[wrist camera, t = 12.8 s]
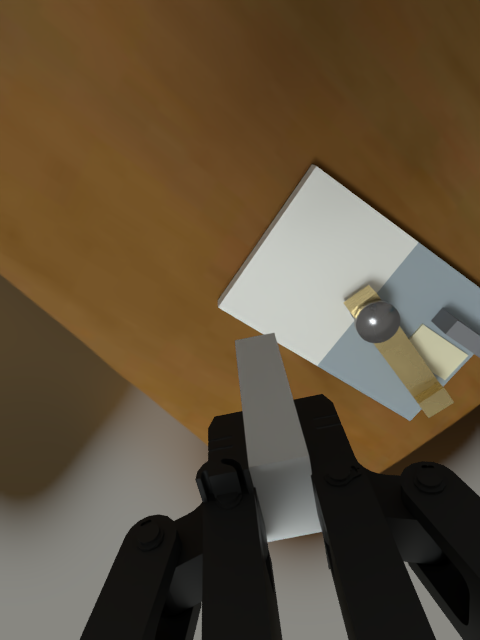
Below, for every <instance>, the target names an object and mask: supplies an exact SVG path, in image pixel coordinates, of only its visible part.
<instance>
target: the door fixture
mask: <svg viewBox="0 0 480 640" xmlns="http://www.w3.org/2000/svg"><path fill="white" fill-rule="evenodd" d="M367 285H369V286H370V287H371V288H372V289H373V290H374V291H375V292H376V293H377V294H378V296H379V297H380V299H381V300H385V301H387V302H389V303H391V304H392V305H393V306H394V307H395V308H396V309H397V311H398V312H399V314H400V327H401V329H402V330H403V332H404V333H405V334H406V336H407V337H408V339H409V340H410V342H411V343H412V344H413V346H414V347H415V349H416V350H417V352H418V353H419V354H420V356H421V357H422V359H423V360H424V362H425V363H426V364H427V366H428V367H429V369H430V370H431V372H432V373H433V374H434V376H435V377H436V379H437V380H438V382H439V383H440V384H441V385H442V386H444V385H445V384H446V383H447V382H448V381H449V380H450V379H451V378H452V376H453V375H454V374H455V373H456V372H457V371H458V370H459V369H460V368H461V367H462V366H463V365H464V364H465V363H466V362H467V361H468V360H469V359H470V358H471V356H472V355H473V354H475V355H477V356H478V357H480V288H479V287H478V286H477V285H475V284H474V283H473V282H471V281H470V280H469V279H467V278H466V277H465V276H463V275H462V274H461V273H459V272H458V271H456V270H455V269H454V268H452V267H451V266H450V265H448V264H447V263H446V262H444V261H443V260H442V259H440V258H439V257H438V256H436V255H435V254H434V253H432V252H431V251H430V250H428V249H427V248H426V247H424V246H423V245H422V244H420V243H419V242H418V241H416V240H415V239H414V238H412V237H411V236H410V235H408V234H407V233H406V232H404V231H403V230H401V229H400V228H399V227H397V226H396V225H395V224H393V223H392V222H391V221H389V220H388V219H387V218H385V217H384V216H383V215H381V214H380V213H379V212H377V211H376V210H375V209H373V208H372V207H371V206H369V205H368V204H367V203H365V202H364V201H363V200H361V199H360V198H359V197H357V196H356V195H355V194H353V193H352V192H351V191H349V190H348V189H347V188H345V187H344V186H342V185H341V184H340V183H338V182H337V181H336V180H334V179H333V178H332V177H330V176H329V175H328V174H326V173H325V172H324V171H322V170H321V169H320V168H318V167H317V166H315V165H313V164H312V165H311V167H310V168H309V169H308V171H307V172H306V174H305V175H304V177H303V178H302V180H301V181H300V182H299V184H298V185H297V187H296V188H295V190H294V191H293V193H292V194H291V195H290V197H289V198H288V200H287V201H286V203H285V204H284V206H283V207H282V208H281V210H280V211H279V213H278V214H277V216H276V217H275V219H274V220H273V221H272V223H271V224H270V226H269V227H268V229H267V230H266V232H265V233H264V234H263V236H262V237H261V239H260V240H259V242H258V243H257V245H256V246H255V247H254V249H253V250H252V252H251V253H250V255H249V256H248V258H247V259H246V260H245V262H244V263H243V265H242V266H241V268H240V269H239V271H238V272H237V273H236V275H235V276H234V278H233V279H232V281H231V282H230V284H229V285H228V286H227V288H226V289H225V291H224V292H223V294H222V295H221V297H220V298H219V299H218V308H220V309H222V310H223V311H225V312H227V313H229V314H230V315H232V316H234V317H235V318H237V319H239V320H240V321H242V322H244V323H245V324H247V325H249V326H251V327H252V328H254V329H256V330H257V331H259V332H261V333H262V334H264V335H265V334H270V333H275V337H276V341H277V342H278V343H279V344H281V345H283V346H284V347H286V348H288V349H289V350H291V351H293V352H295V353H296V354H298V355H300V356H301V357H303V358H305V359H306V360H308V361H310V362H311V363H313V364H315V365H317V366H318V367H320V368H322V369H323V370H325V371H327V372H328V373H330V374H332V375H333V376H335V377H337V378H339V379H340V380H342V381H344V382H345V383H347V384H349V385H350V386H352V387H354V388H355V389H357V390H359V391H361V392H362V393H364V394H366V395H367V396H369V397H371V398H372V399H374V400H376V401H377V402H379V403H381V404H383V405H384V406H386V407H388V408H389V409H391V410H393V411H394V412H396V413H398V414H399V415H401V416H403V417H405V418H406V419H408V420H410V421H411V420H412V419H413V417H414V416H415V415H416V414H417V413H418V412H419V411H420V410H421V409H422V408H421V407H420V406H419V404H418V403H417V402H416V400H415V399H414V398H413V396H412V395H411V393H410V392H409V391H408V389H407V388H406V387H405V385H404V384H403V383H402V381H401V380H400V379H399V377H398V376H397V375H396V373H395V372H394V371H393V369H392V368H391V367H390V365H389V364H388V363H387V361H386V360H385V358H384V357H383V356H382V354H381V353H380V352H379V350H378V349H377V348H376V346H375V345H374V344H373V343H370V342H367V341H365V340H363V339H362V338H361V337H360V335H359V334H358V332H357V331H356V329H355V326H354V319H355V318H354V317H353V315H352V314H351V313H350V311H349V310H348V309H347V307H346V306H345V305H344V303H343V302H345V301H346V300H348V299H349V298H351V297H352V296H353V295H355V294H356V293H358V292H359V291H360V290H362V289H363V288H365V287H366V286H367Z"/></svg>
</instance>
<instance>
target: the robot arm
mask: <svg viewBox="0 0 480 640" xmlns="http://www.w3.org/2000/svg"><path fill="white" fill-rule="evenodd" d="M235 346H236V355H237V365H238V374H239V383H240V392H241V401H242V410H243V411H241V412H236V413H231V414H226V415H221V416H216V417H214V419H213V421H212V422H211V424H210V426H209V428H208V441H209V442H208V451H209V452H208V461H207V462H206V463H205V464H203V465H202V467H201V468H200V469H199V470H198V472H197V476H196V482H197V486H198V489H199V492H200V495H201V498H202V501H203V502H202V503H201V505H200V506H198V507H197V508H196V509H195V510H194V511H192V512H191V513H189V514H188V515H185V516H183V517H181V518H179V519H177V520H175V521H173V520H172V519H170V518H169V517H168V516H164V515H153V516H148V517H146V518H144V519H142V520H140V521H139V522H137V523H136V524H135V525H134V526H133V527H132V528H131V529H130V530H129V532H128V533H127V535H126V536H125V538H124V541H123V543H122V545H121V547H120V550H119V552H118V554H117V556H116V559H115V561H114V563H113V565H112V568H111V570H110V572H109V575H108V577H107V579H106V581H105V584H104V586H103V588H102V590H101V593H100V595H99V597H98V599H97V602H96V604H95V607H94V608H93V611H92V613H91V616H90V617H89V620H88V622H87V624H86V627H85V629H84V631H83V633H82V636H81V638H80V640H193V637H194V634H195V630H196V625H197V621H198V617H199V613H200V609H201V602H202V640H282V634H281V627H280V619H279V612H278V605H277V598H276V592H275V583H274V576H273V570H272V562H271V558H270V554H269V550H268V544H267V542H271V541H276V540H281V539H286V538H291V537H297V536H302V535H307V534H312V533H317V532H322V533H323V538H324V543H325V549H326V555H327V561H328V567H329V569H331V573H332V577H333V581H334V585H335V588H336V592H337V596H338V600H339V604H340V607H341V612H342V616H343V620H344V624H345V627H346V631H347V635H348V639H349V640H436V638H435V636H434V634H433V631H432V629H431V627H430V624H429V622H428V619H427V617H426V614H425V612H424V610H423V607H422V605H421V602H420V600H419V598H418V595H417V593H416V591H415V589H414V586H413V583H412V581H411V579H410V576H409V574H408V571H407V569H406V567H405V564H404V562H403V561H405V562H408V564H409V566H410V567H411V569H412V570H413V571H414V573H415V574H416V575H417V577H418V578H419V580H420V581H421V582H422V584H423V585H424V586H425V588H426V589H427V591H428V592H429V593H430V595H431V596H432V597H433V599H434V600H435V602H436V603H437V604H438V606H439V607H440V608H441V610H442V611H443V612H444V614H445V615H446V617H447V618H448V619H449V620H450V622H451V623H452V625H453V626H454V628H455V629H456V630H457V632H458V633H459V634H460V636H461V637H462V639H463V640H480V497H479V496H478V495H477V494H476V493H475V492H474V491H473V490H472V489H471V488H470V487H469V486H468V485H467V484H466V483H464V482H463V481H462V480H461V479H460V478H459V477H458V476H457V475H456V474H455V473H454V472H453V471H451V470H450V469H448V468H447V467H445V466H444V465H441V464H438V463H434V462H418V463H413V464H411V465H410V466H408V467H406V468H405V469H404V470H403V472H402V474H401V476H395V475H383V474H378V473H375V472H372V471H369V470H368V469H366V468H364V467H363V466H362V465H361V464H360V463H358V461H357V459H356V458H355V456H354V453H353V451H352V448H351V446H350V444H349V441H348V439H347V436H346V434H345V431H344V429H343V427H342V425H341V422H340V419H339V417H338V415H337V412H336V409H335V407H334V405H333V402H331V401H330V400H329V399H328V398H327V397H325V396H324V395H323V394H320V395H315V396H310V397H305V398H300V399H295V400H293V397H292V394H291V390H290V387H289V383H288V379H287V376H286V372H285V369H284V365H283V362H282V358H281V355H280V351H279V348H278V344H277V341H276V337H275V333H270V334H265V335H260V336H255V337H250V338H245V339H241V340H236V341H235Z"/></svg>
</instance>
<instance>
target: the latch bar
mask: <svg viewBox="0 0 480 640" xmlns="http://www.w3.org/2000/svg"><path fill="white" fill-rule="evenodd" d="M343 303H344V305H345V306H346V307H347V309H348V310H349V311H350V313H351V314H352V315H353V317H354V318H355V319H354V326H355V329H356V331H357V332H358V334H359V335H360V337H361V338H362V339H363V340H365V341H367V342H370V343H373V344H374V345H375V346H376V348H377V349H378V350H379V352H380V353H381V354H382V356H383V357H384V358H385V360H386V361H387V363H388V364H389V365H390V367H391V368H392V369H393V371H394V372H395V373H396V375H397V376H398V377H399V379H400V380H401V381H402V383H403V384H404V385H405V387H406V388H407V389H408V391H409V392H410V393H411V395H412V396H413V398H414V399H415V400H416V402H417V403H418V404H419V406H420V407H421V408H422V410H423V411H424V412H425V414H426V415H427V416H428V418H430V417H431V416H433V415H435V414H436V413H438V412H439V411H441V410H443V409H444V408H446V407H447V406H449V405H451V404H452V403H454V402H453V400H452V399H451V397H450V396H449V394H448V393H447V392H446V390H445V389H444V387H443V386H442V385H441V384H440V383H439V382H438V380H437V379H436V377H435V376H434V374H433V373H432V372H431V370H430V369H429V367H428V366H427V364H426V363H425V362H424V360H423V359H422V357H421V356H420V354H419V353H418V352H417V350H416V349H415V347H414V346H413V344H412V343H411V342H410V340H409V339H408V337H407V336H406V334H405V333H404V332H403V330H402V329H401V327H400V314H399V312H398V311H397V309H396V308H395V307H394V306H393V305H392V304H391V303H389V302H387V301H385V300H381V299H380V297H379V296H378V294H377V293H376V292H375V291H374V290H373V289H372V288H371V287H370V286H369V285H367V286H366V287H365V288H363V289H362V290H360V291H359V292H358V293H356V294H355V295H353V296H352V297H351V298H349V299H348V300H346V301H345V302H343Z"/></svg>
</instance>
